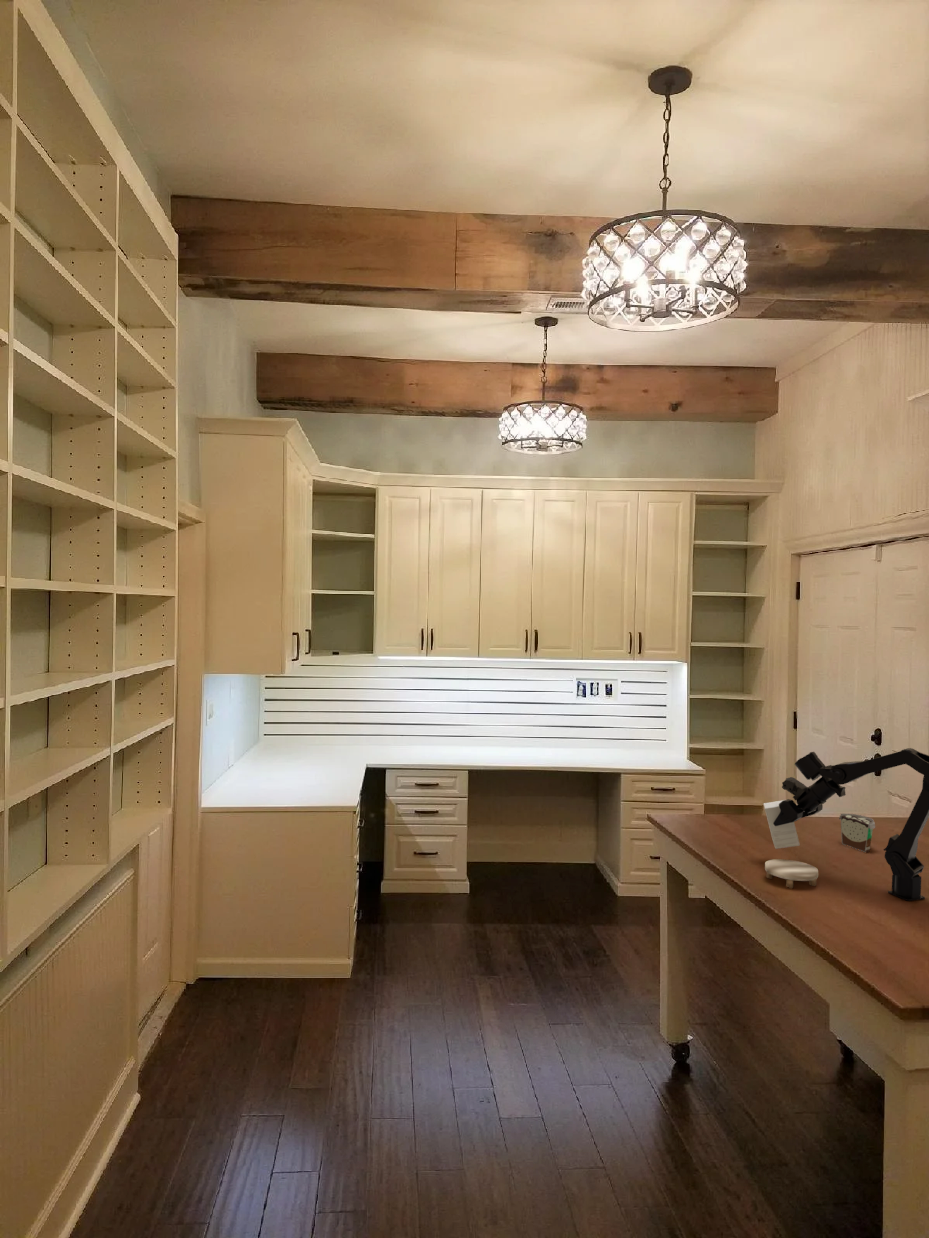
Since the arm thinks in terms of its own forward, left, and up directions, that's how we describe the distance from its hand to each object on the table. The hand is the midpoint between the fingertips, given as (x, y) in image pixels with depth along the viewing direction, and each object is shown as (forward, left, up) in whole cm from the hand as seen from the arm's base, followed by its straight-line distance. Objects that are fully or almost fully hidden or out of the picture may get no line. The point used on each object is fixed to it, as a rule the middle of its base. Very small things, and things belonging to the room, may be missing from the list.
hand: (781, 822), depth 240 cm
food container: (+7, -39, -13) cm, 41 cm away
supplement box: (-1, -1, -7) cm, 7 cm away
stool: (-14, +8, -13) cm, 21 cm away
